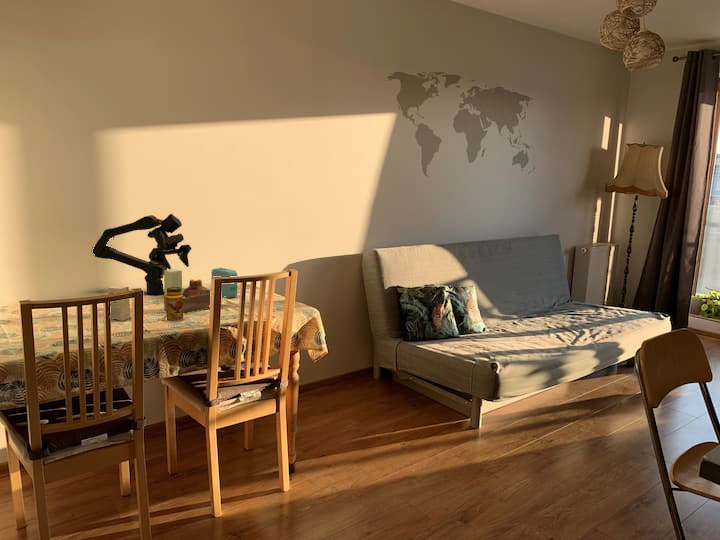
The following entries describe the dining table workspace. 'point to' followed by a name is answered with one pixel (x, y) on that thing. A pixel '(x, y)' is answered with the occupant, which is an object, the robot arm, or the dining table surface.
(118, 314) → the skincare box
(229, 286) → the data package
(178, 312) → the condiment
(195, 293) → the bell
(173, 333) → the dining table surface
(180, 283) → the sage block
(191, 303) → the walnut box
